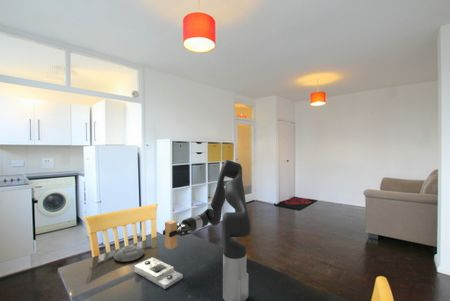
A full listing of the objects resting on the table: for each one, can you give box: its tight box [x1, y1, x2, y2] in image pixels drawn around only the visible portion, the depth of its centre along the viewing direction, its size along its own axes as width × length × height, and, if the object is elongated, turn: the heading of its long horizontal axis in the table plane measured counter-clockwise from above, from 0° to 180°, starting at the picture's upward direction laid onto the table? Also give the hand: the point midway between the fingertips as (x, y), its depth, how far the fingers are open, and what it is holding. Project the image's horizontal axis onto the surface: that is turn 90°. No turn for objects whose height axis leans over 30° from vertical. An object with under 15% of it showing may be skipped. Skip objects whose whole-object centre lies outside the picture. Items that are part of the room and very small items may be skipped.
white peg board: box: [134, 256, 184, 290], centre depth 104 cm, size 22×10×3 cm, turn 54°
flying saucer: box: [113, 245, 145, 262], centre depth 122 cm, size 15×15×6 cm
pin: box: [164, 219, 178, 250], centre depth 109 cm, size 4×4×12 cm
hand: (166, 234), depth 107 cm, fingers closed on pin, 4 cm apart
